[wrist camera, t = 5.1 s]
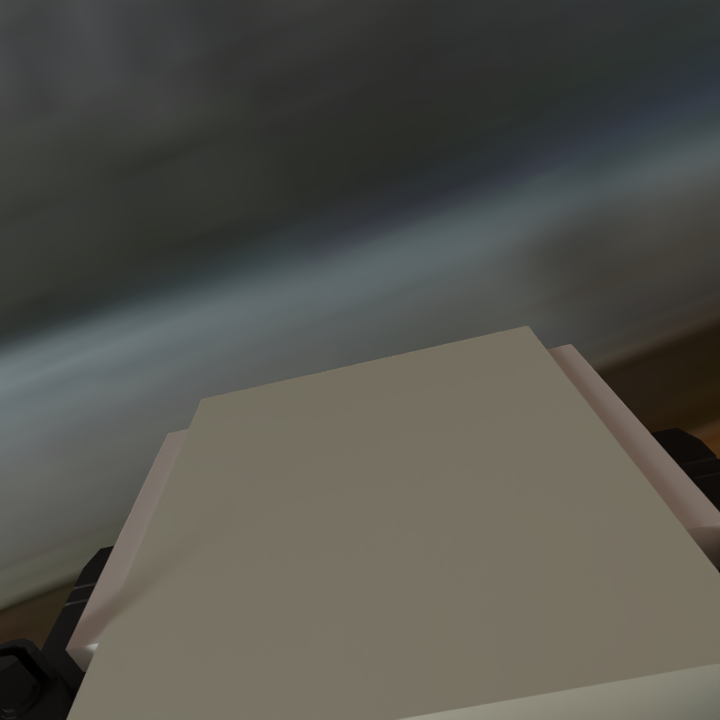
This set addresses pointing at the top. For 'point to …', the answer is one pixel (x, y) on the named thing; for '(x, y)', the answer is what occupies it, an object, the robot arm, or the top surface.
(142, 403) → the top surface
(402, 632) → the beige rectangular block
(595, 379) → the robot arm
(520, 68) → the top surface
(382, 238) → the top surface
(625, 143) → the top surface
